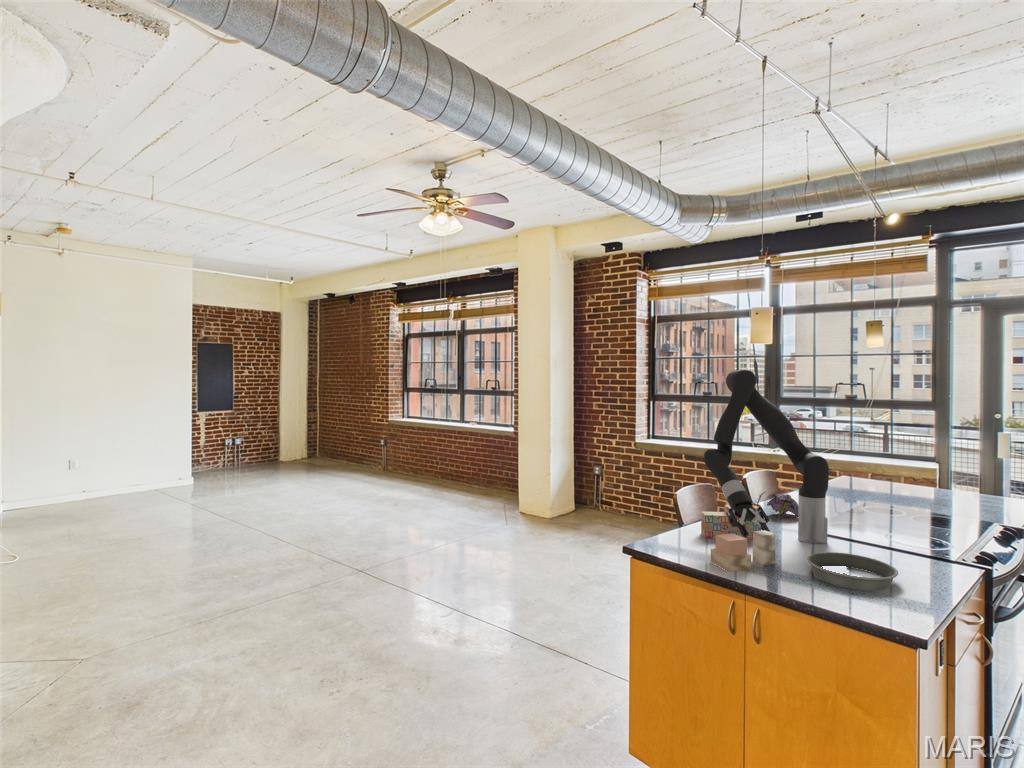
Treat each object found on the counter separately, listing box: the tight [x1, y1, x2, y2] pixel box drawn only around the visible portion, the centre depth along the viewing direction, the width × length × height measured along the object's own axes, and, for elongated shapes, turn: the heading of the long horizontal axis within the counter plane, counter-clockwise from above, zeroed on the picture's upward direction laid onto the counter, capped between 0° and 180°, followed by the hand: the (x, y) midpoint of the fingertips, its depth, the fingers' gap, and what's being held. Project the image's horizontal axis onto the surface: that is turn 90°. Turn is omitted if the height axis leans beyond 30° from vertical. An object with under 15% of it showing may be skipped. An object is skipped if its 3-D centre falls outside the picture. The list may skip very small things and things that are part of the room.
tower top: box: [715, 533, 748, 556], centre depth 187 cm, size 7×7×5 cm
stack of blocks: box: [700, 504, 762, 541], centre depth 221 cm, size 21×6×12 cm, turn 84°
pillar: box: [752, 530, 776, 566], centre depth 192 cm, size 5×5×10 cm
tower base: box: [710, 547, 752, 572], centre depth 188 cm, size 9×9×5 cm
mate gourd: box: [752, 490, 767, 510], centre depth 240 cm, size 8×8×15 cm
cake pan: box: [806, 551, 899, 591], centre depth 177 cm, size 25×25×4 cm
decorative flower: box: [766, 492, 799, 519], centre depth 252 cm, size 15×12×15 cm
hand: (757, 535), depth 194 cm, fingers open, 8 cm apart
